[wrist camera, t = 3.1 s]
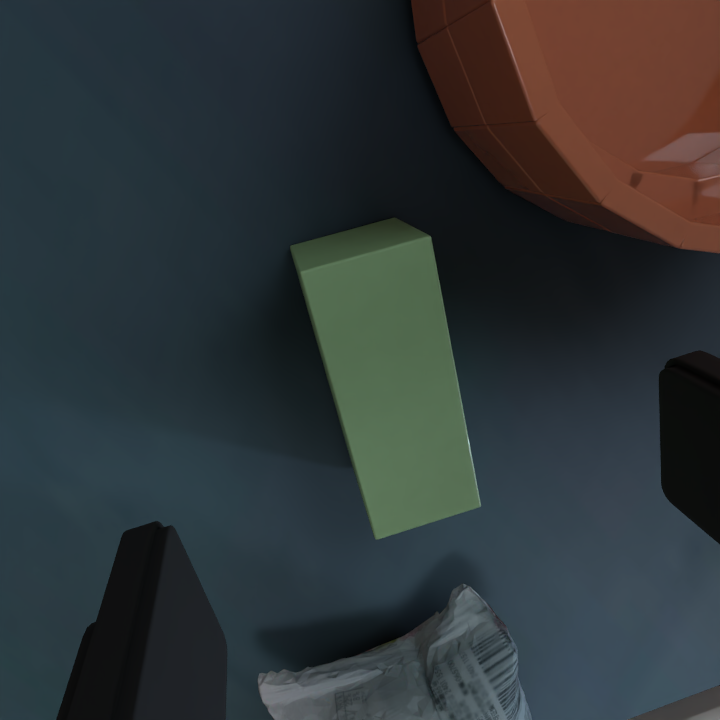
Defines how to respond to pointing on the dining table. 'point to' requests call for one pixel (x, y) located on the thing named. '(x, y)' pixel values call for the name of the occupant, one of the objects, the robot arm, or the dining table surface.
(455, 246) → the dining table surface
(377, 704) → the packaged food
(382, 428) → the bar
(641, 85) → the bowl
